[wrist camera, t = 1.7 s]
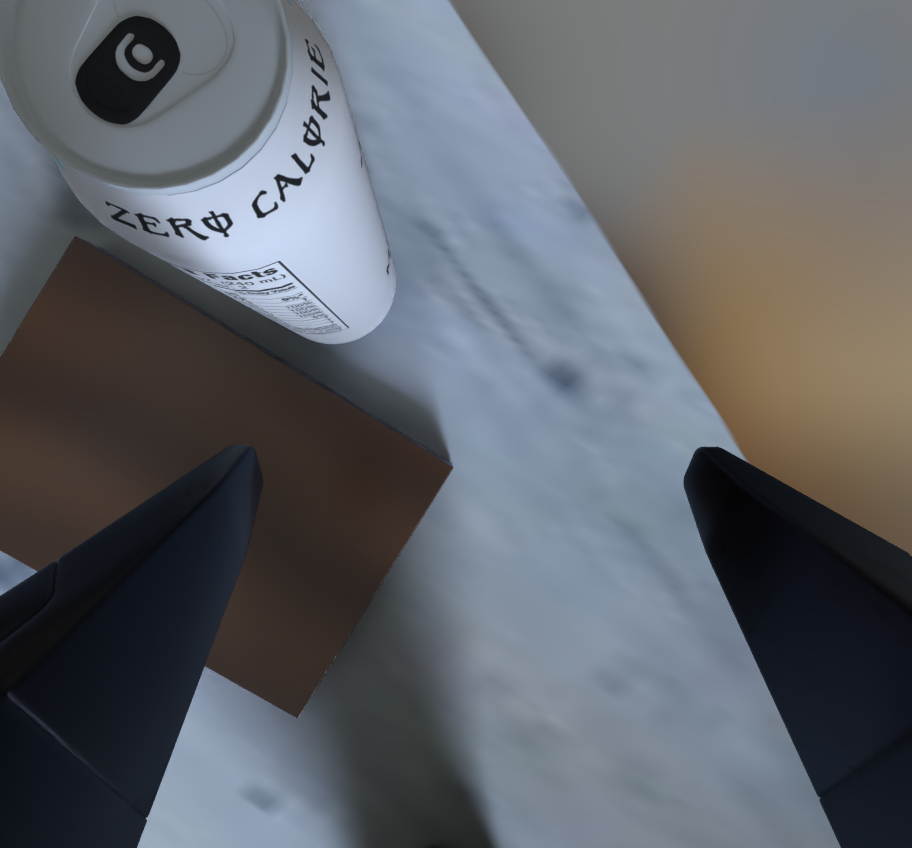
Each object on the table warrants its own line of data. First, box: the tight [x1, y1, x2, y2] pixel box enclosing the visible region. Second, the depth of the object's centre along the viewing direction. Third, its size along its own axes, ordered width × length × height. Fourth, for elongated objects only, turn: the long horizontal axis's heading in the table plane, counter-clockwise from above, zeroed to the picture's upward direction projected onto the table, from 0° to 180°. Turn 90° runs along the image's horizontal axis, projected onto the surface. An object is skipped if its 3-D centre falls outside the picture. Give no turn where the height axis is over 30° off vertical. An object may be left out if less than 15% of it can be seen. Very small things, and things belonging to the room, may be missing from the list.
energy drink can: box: [0, 0, 396, 344], centre depth 15 cm, size 6×6×15 cm
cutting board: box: [0, 236, 453, 718], centre depth 22 cm, size 14×20×2 cm
